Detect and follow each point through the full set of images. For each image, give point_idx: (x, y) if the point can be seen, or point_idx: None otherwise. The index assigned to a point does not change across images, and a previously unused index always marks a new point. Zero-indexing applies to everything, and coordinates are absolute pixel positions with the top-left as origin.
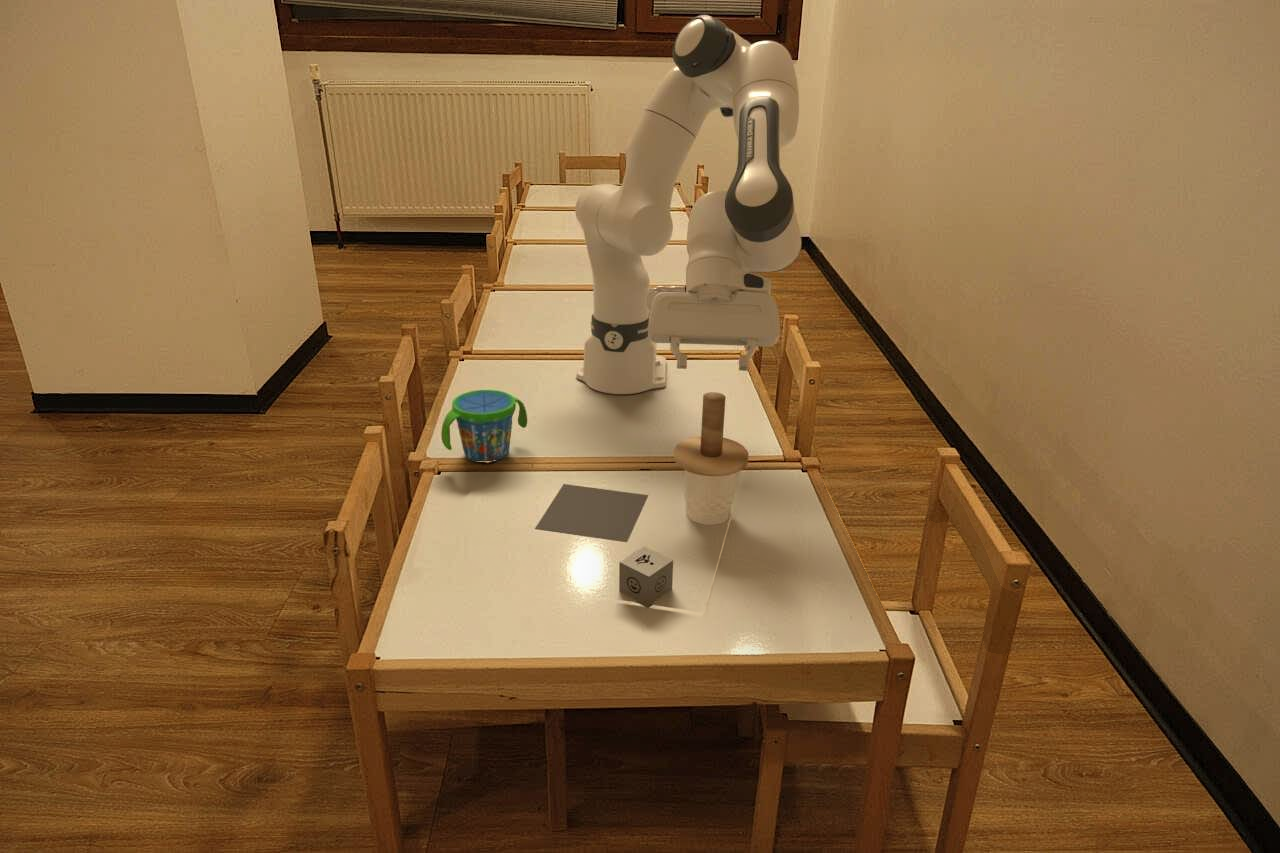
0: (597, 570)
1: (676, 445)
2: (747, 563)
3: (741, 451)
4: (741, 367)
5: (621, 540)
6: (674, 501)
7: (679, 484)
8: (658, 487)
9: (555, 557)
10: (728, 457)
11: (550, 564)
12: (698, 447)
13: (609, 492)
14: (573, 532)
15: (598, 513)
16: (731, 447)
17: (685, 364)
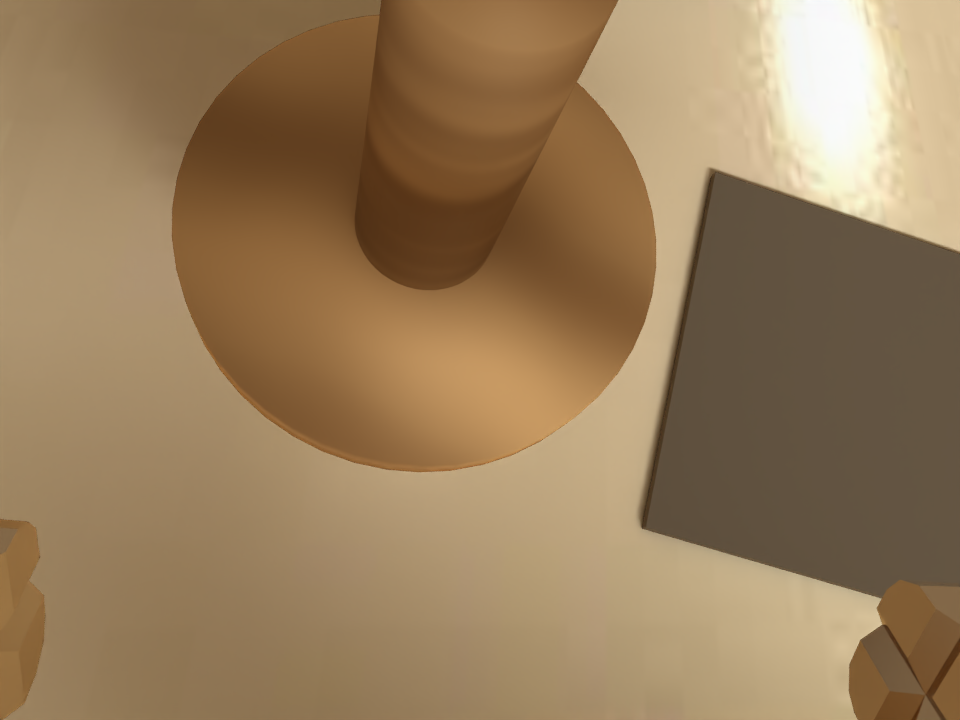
0: (792, 42)
1: (640, 330)
2: (274, 20)
3: (216, 224)
4: (3, 520)
5: (735, 181)
6: (523, 490)
7: (490, 662)
8: (594, 628)
9: (931, 123)
10: (322, 149)
11: (938, 88)
12: (501, 295)
13: (815, 553)
14: (907, 245)
15: (838, 374)
16: (275, 283)
17: (920, 585)
